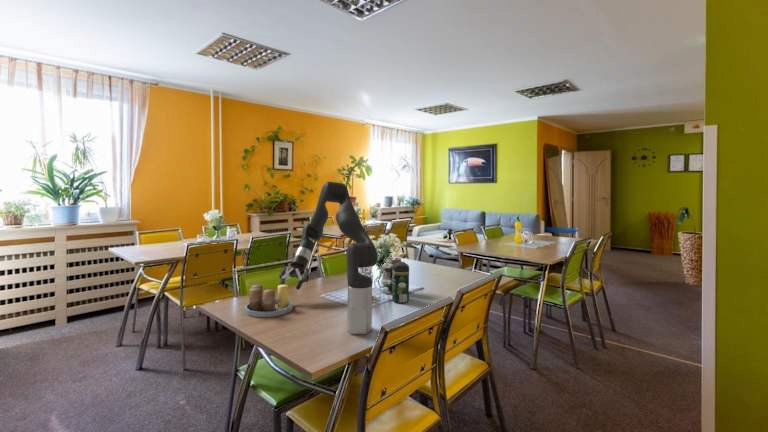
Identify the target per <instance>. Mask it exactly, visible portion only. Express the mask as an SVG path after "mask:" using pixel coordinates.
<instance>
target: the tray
mask: <svg viewBox="0 0 768 432" xmlns="http://www.w3.org/2000/svg"><path fill="white" fill-rule="evenodd" d="M288 301H289V306H288V307H286V308H284V309H280V310H279V309H275V311H268V312H264V298H263V308H262V311H261V312H257V311H252V310H250V308H249V302H248V303H246V304H245V305H244V314H245V315H247V316H249V317H254V318H273V317H278V316H282V315H285V314H287V313H289V312H291V311H292V310H293V308H294V307H293V306H294V304H293V302H292V300H289V299H288ZM275 304H278V297H275Z"/></svg>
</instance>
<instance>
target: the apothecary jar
mask: <svg viewBox="0 0 768 432" xmlns="http://www.w3.org/2000/svg"><path fill="white" fill-rule="evenodd" d="M396 262H402V259H401V257H398V258H396V259H395V260H390V259H387V261H386V263H384V264H383V265H382V264H381V265H382V267H381V268H382V269H384V270H383V275H382V278H381V280H380V283H381V285H382V286H383V287H384V288H386V289H387V290H386V289H385V290H386V291H385V292H384V293H385V294H384V293H383V294H384V295H387V294H392V274H393V264H394V263H396Z"/></svg>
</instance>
